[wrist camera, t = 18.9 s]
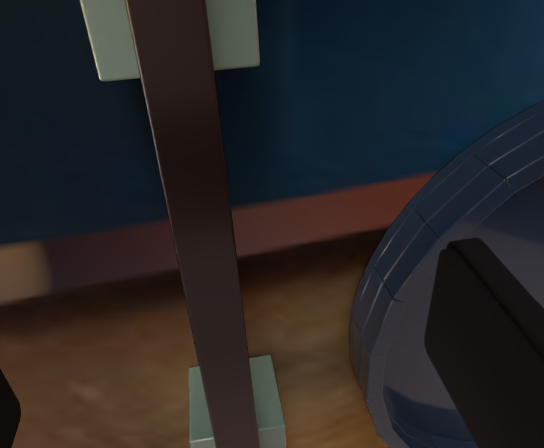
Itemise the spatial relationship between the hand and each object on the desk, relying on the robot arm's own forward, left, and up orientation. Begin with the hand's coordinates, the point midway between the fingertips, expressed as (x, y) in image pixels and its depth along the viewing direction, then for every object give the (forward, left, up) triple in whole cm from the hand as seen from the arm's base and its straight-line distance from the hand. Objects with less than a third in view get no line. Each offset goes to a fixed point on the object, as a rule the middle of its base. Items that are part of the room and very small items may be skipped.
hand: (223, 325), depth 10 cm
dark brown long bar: (+1, 0, -2) cm, 2 cm away
